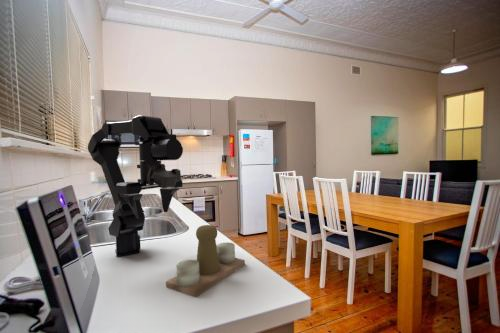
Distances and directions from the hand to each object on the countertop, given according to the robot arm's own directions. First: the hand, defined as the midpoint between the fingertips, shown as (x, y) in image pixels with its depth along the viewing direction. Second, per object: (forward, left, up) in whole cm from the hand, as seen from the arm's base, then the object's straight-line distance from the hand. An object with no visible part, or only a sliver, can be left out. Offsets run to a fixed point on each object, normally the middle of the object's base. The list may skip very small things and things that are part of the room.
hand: (152, 215), depth 75 cm
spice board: (+10, -18, -13) cm, 24 cm away
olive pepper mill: (+9, -17, -12) cm, 23 cm away
